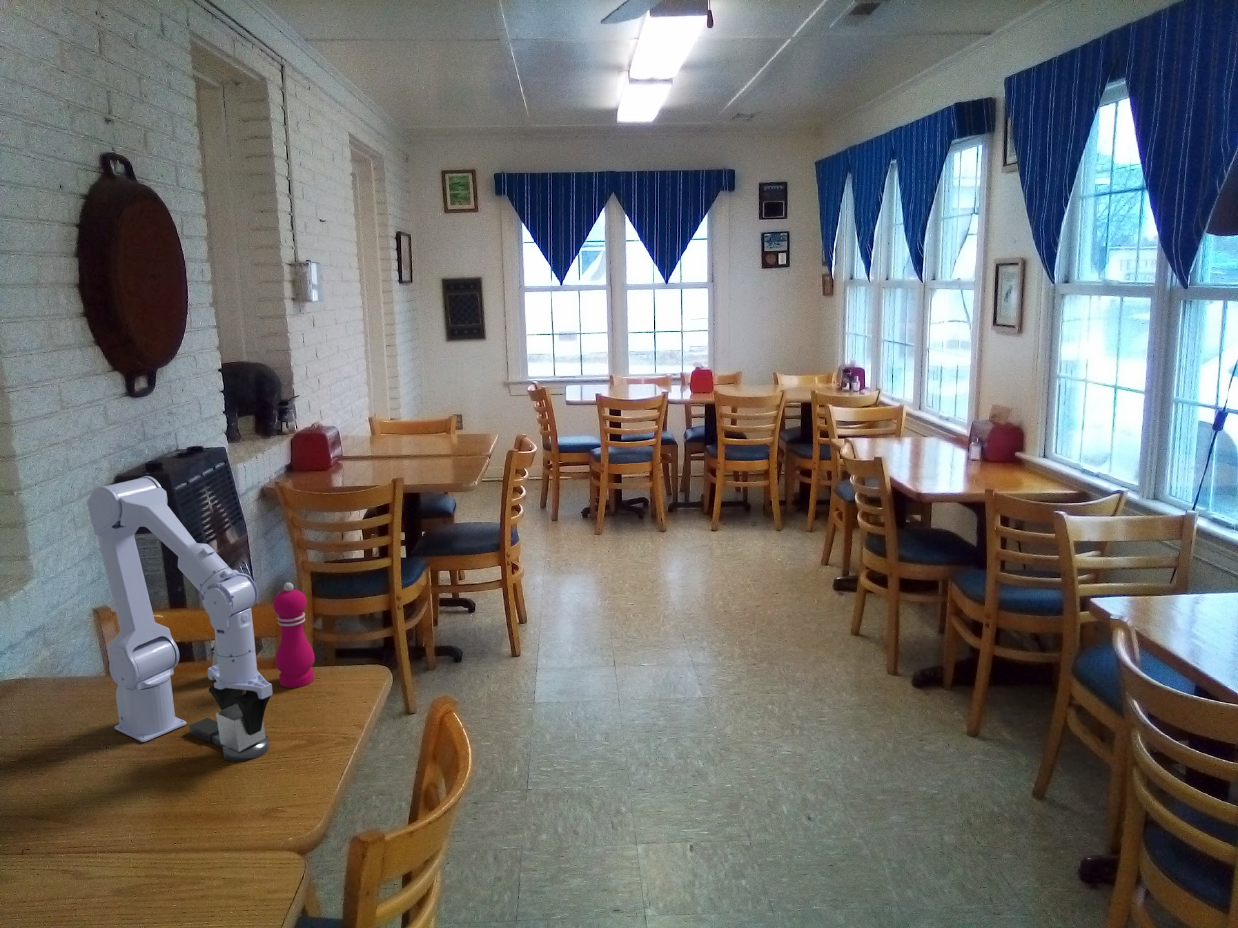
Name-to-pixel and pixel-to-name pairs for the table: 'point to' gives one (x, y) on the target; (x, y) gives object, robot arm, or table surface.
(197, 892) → the table surface
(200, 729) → the ratchet
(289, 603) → the pepper mill
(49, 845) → the table surface
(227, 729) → the metal cube
